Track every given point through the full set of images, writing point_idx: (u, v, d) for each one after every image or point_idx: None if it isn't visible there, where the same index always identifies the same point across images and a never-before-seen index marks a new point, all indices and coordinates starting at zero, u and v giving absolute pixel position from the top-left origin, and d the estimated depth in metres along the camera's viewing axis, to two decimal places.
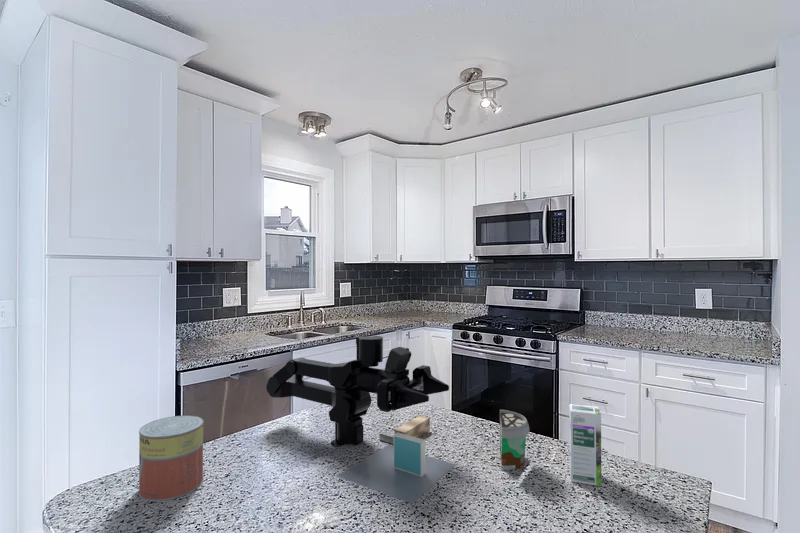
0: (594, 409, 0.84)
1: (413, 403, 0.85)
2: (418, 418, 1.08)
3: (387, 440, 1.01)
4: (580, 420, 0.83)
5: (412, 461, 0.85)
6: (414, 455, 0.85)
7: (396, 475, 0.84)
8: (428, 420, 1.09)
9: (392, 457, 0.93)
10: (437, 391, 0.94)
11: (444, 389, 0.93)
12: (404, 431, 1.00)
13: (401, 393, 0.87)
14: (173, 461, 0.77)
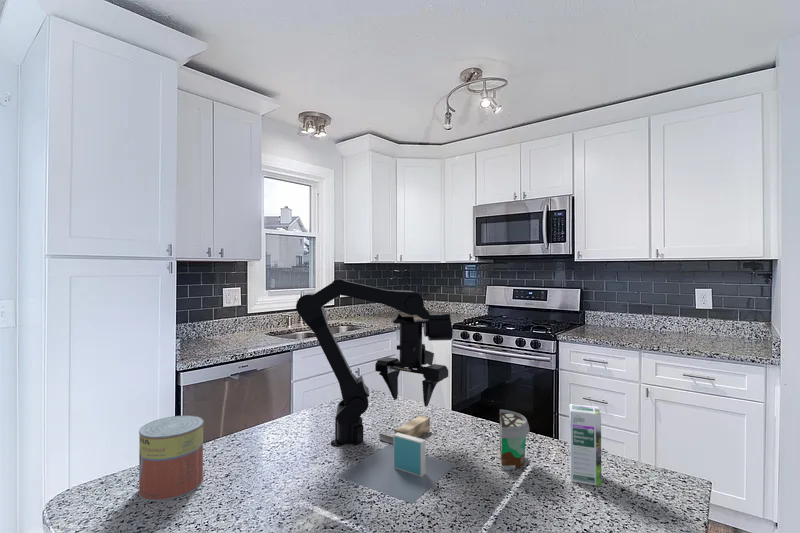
0: (594, 409, 0.84)
1: (427, 396, 1.00)
2: (418, 418, 1.08)
3: (387, 440, 1.01)
4: (580, 420, 0.83)
5: (412, 461, 0.85)
6: (414, 455, 0.85)
7: (396, 475, 0.84)
8: (428, 420, 1.09)
9: (392, 457, 0.93)
10: (392, 389, 1.06)
11: (395, 396, 1.06)
12: (404, 431, 1.00)
13: None
14: (173, 461, 0.77)
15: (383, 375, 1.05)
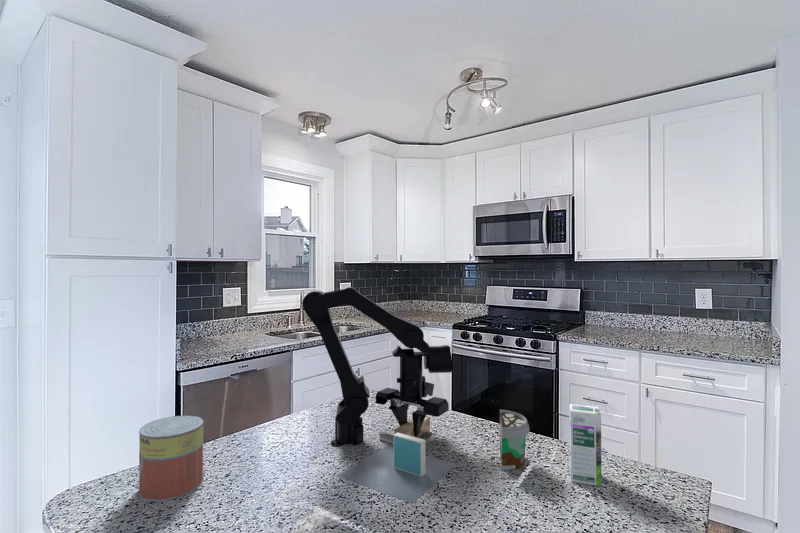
0: (594, 409, 0.84)
1: (417, 427, 1.02)
2: None
3: (387, 439, 1.01)
4: (580, 420, 0.83)
5: (412, 461, 0.85)
6: (414, 455, 0.85)
7: (396, 475, 0.84)
8: (428, 419, 1.09)
9: (392, 457, 0.93)
10: (402, 424, 1.04)
11: None
12: (404, 430, 1.00)
13: None
14: (173, 461, 0.77)
15: (393, 409, 1.04)
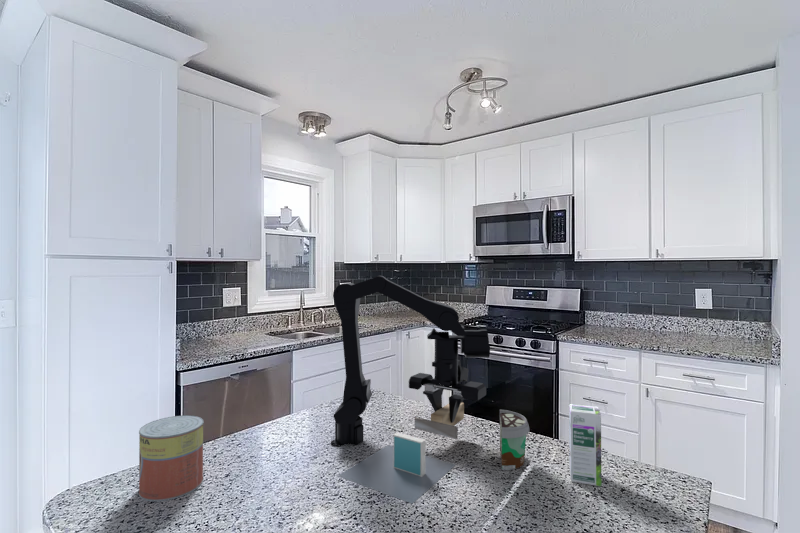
0: (594, 409, 0.84)
1: (453, 412, 0.98)
2: None
3: (423, 424, 0.98)
4: (580, 420, 0.83)
5: (412, 461, 0.85)
6: (414, 455, 0.85)
7: (396, 475, 0.84)
8: (462, 405, 1.05)
9: (392, 457, 0.93)
10: (437, 409, 1.01)
11: None
12: (441, 415, 0.97)
13: None
14: (173, 461, 0.77)
15: (427, 394, 1.00)
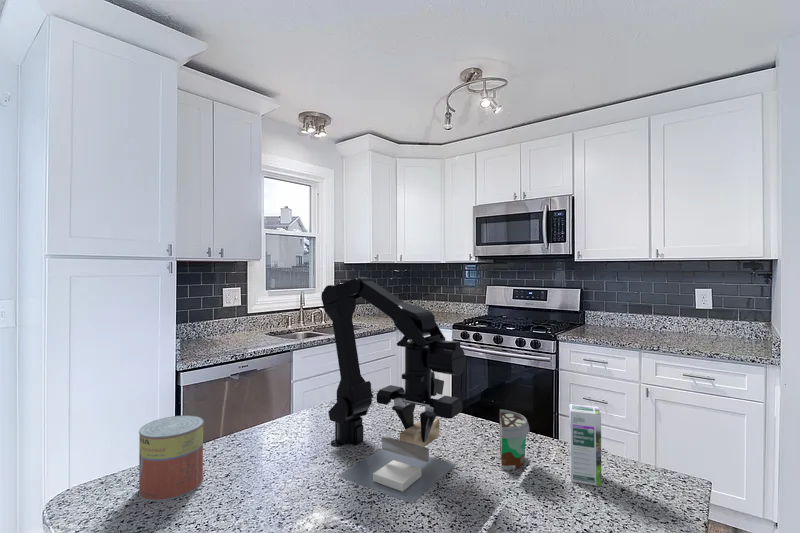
0: (594, 409, 0.84)
1: (426, 431, 0.87)
2: None
3: (391, 444, 0.87)
4: (580, 420, 0.83)
5: None
6: None
7: None
8: (438, 422, 0.94)
9: (392, 457, 0.93)
10: (408, 427, 0.90)
11: None
12: (411, 434, 0.85)
13: None
14: (173, 461, 0.77)
15: (397, 410, 0.89)
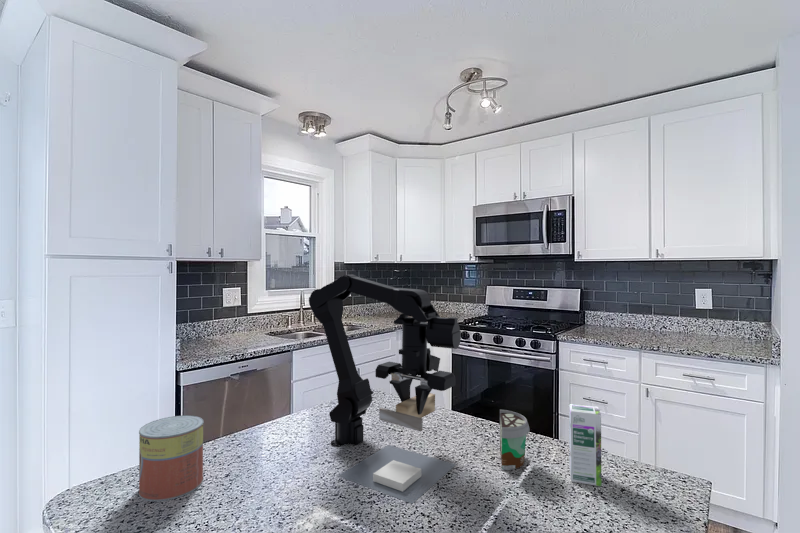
0: (594, 409, 0.84)
1: (420, 403, 0.92)
2: None
3: (387, 415, 0.92)
4: (580, 420, 0.83)
5: None
6: None
7: None
8: (433, 397, 0.99)
9: (392, 457, 0.93)
10: (404, 400, 0.94)
11: None
12: (406, 406, 0.90)
13: None
14: (173, 461, 0.77)
15: (394, 384, 0.94)
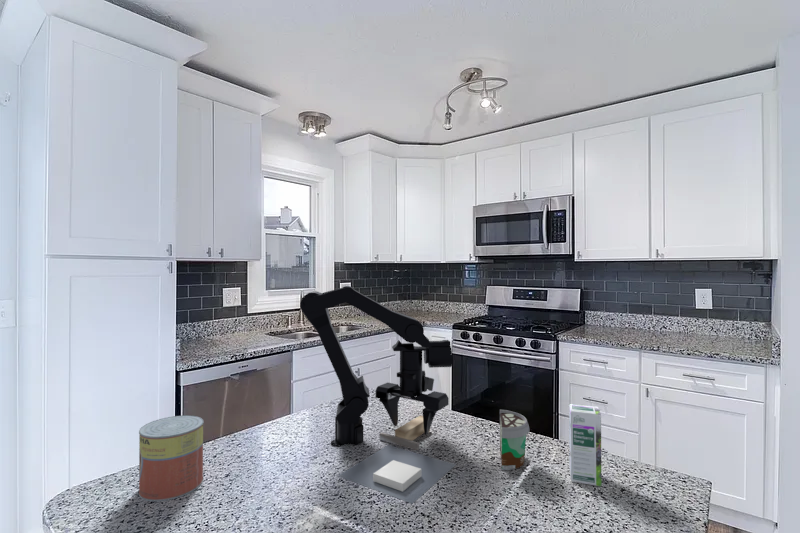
0: (594, 409, 0.84)
1: (427, 424, 1.00)
2: (418, 418, 1.08)
3: (387, 440, 1.01)
4: (580, 420, 0.83)
5: None
6: None
7: None
8: None
9: (392, 457, 0.93)
10: (393, 416, 1.06)
11: (395, 422, 1.06)
12: (404, 431, 1.00)
13: None
14: (173, 461, 0.77)
15: (383, 402, 1.05)
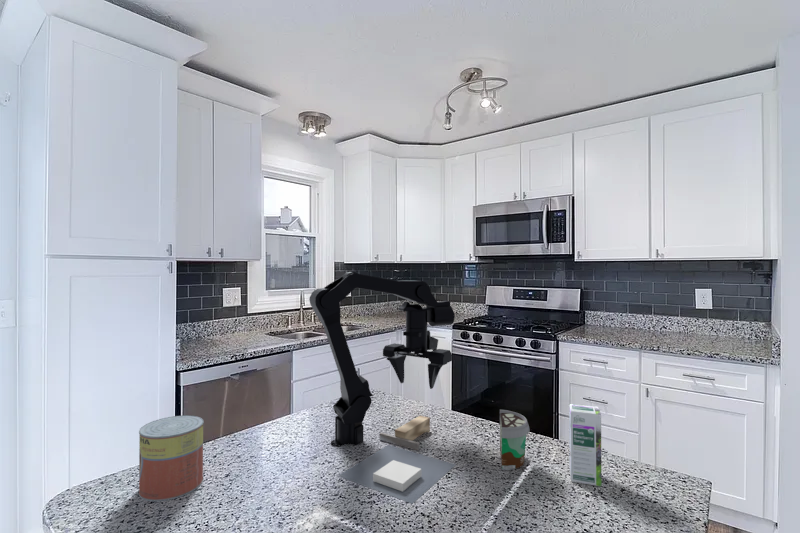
0: (594, 409, 0.84)
1: (432, 378, 1.06)
2: (418, 418, 1.08)
3: (387, 440, 1.01)
4: (580, 420, 0.83)
5: None
6: None
7: None
8: (428, 420, 1.09)
9: (392, 457, 0.93)
10: (399, 373, 1.12)
11: (401, 379, 1.12)
12: (404, 431, 1.00)
13: None
14: (173, 461, 0.77)
15: (390, 360, 1.11)
